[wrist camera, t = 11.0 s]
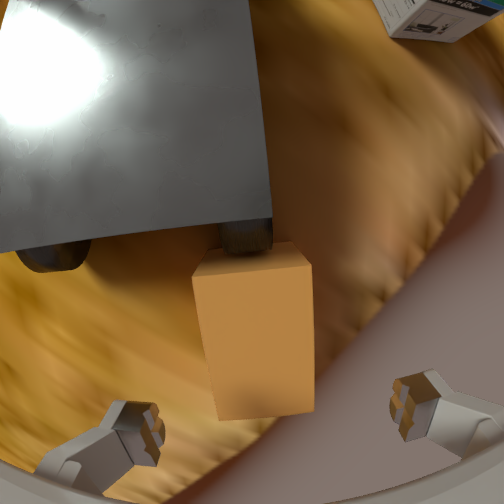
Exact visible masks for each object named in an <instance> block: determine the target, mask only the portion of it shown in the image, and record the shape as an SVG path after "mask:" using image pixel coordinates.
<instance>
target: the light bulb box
mask: <svg viewBox="0 0 504 504" xmlns="http://www.w3.org/2000/svg"><path fill="white" fill-rule="evenodd" d="M373 2H374V4H375V6H376V8H377V10H378V12H379V14H380V16H381V19H382V21H383V23H384V25H385V27H386V30H387V32H388V34H389V36H390V37H392V38H409V39H422V40H432V41H440V42H448V43H454V42H455V41H457V40H458V39H460V38H462V37H463V36H465V35H466V34H468V33H470V32H471V31H473V30H474V29H476V28H478V27H480V26H481V25H483V24H485V23H486V22H488V21H490V20H491V19H493V18H495V17H496V16H498V15H500V14H502V13H503V12H504V0H373Z"/></svg>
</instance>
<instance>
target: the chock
mask: <svg viewBox="0 0 504 504" xmlns="http://www.w3.org/2000/svg"><path fill="white" fill-rule="evenodd" d="M192 283H193V289H194V296H195V302H196V308H197V314H198V319H199V325H200V331H201V336H202V342H203V347H204V352H205V357H206V362H207V367H208V372H209V377H210V382H211V387H212V392H213V396H214V401H215V405H216V410H217V414H218V418H219V421H226V420H243V419H256V418H267V417H277V416H285V415H293V414H301V413H308V412H314V314H313V286H312V266H311V264H310V263H309V262H308V260H307V259H306V258H305V257H304V256H303V254H302V253H301V252H300V251H299V250H298V249H297V247H296V246H295V245H294V244H293V243H292V242H291V241H289V242H279V243H273V246H272V250H265V251H255V252H245V253H235V254H225V253H224V251H223V248H219V249H209V250H208V251H207V253H206V254H205V256H204V257H203V259H202V261H201V262H200V264H199V266H198V267H197V269H196V271H195V272H194V274H193V276H192Z"/></svg>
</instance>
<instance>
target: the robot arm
mask: <svg viewBox="0 0 504 504" xmlns="http://www.w3.org/2000/svg"><path fill="white" fill-rule="evenodd" d="M393 390H394V392H395V393H394V395H393V396H392V397H391V399H390V414H391V417H392V419H393V421H394V422H395V423H397V424H399V425H400V426H399V432H400V434H401V436H402V437H403V439H404V441H405V442H408V441H411V440H414V439H418V438H421V437H425V436H426V437H427V438H429V439H430V440H432V441H434V442H435V443H437V444H439V445H440V446H442V447H444V448H446V449H447V450H449V451H451V452H453V453H454V454H456V455H458V456H460V457H461V458H462V459H461V461H460V462H458V463H456V464H454V465H451V466H449V467H447V468H444V469H442V470H440V471H437V472H435V473H432V474H430V475H427V476H424V477H422V478H419V479H416V480H413V481H411V482H408V483H405V484H402V485H399V486H395V487H392V488H389V489H385V490H382V491H379V492H375V493H371V494H368V495H363V496H359V497H355V498H350V499H346V500H341V501H336V502H331V503H325V504H504V406H502V405H499V404H496V403H493V402H489V401H486V400H483V399H480V398H477V397H474V396H471V395H468V394H464V393H462V392H459V391H457V392H454V391H453V390H452V389H451V388H450V386H449V385H448V384H447V383H446V382H445V381H444V380H443V378H442V377H441V376H440V375H439V374H438V373H437V372H436V371H435V370H434V369H430V370H426V371H423V372H420V373H417V374H414V375H410V376H406V377H402V378H399V379H395V381H394V383H393ZM158 413H159V409H158V407H157V404H155V403H151V402H138V401H125V400H115V401H113V403H112V404H111V406H110V408H109V410H108V411H107V413H106V415H105V416H104V418H103V420H102V422H101V423H100V425H99V427H94V428H92V429H90V430H88V431H87V432H85V433H83V434H81V435H79V436H77V437H76V438H74V439H72V440H70V441H68V442H66V443H64V444H62V445H61V446H59V447H57V448H55V449H53V450H51V451H49V452H47V453H46V455H45V456H44V458H43V459H42V461H41V462H40V464H39V465H38V467H37V469H36V470H35V472H34V473H33V474H32V473H30V472H28V471H25V470H23V469H21V468H18V467H16V466H14V465H12V464H10V463H7V462H5V461H3V460H1V459H0V504H138V503H132V502H127V501H122V500H117V499H113V498H108V497H105V496H104V495H103V494H102V493H103V492H104V491H105V490H107V489H108V488H109V487H110V486H111V485H113V484H114V483H115V482H116V481H117V480H118V479H120V478H121V477H122V476H123V475H124V474H125V473H127V472H128V471H129V470H130V469H131V468H132V467H133V466H134V465H141V466H152V467H157V464H158V460H159V457H160V454H161V453H160V451H159V449H158V448H159V447H161V446H162V445H163V444H164V441H165V426H164V423H163V420H162V419H160V418H159V417H158Z"/></svg>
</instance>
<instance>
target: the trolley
mask: <svg viewBox="0 0 504 504" xmlns="http://www.w3.org/2000/svg"><path fill="white" fill-rule="evenodd" d="M272 217H273V212H272V202H271V191H270V181H269V171H268V161H267V151H266V141H265V132H264V123H263V114H262V105H261V96H260V88H259V79H258V71H257V63H256V55H255V47H254V39H253V31H252V24H251V16H250V9H249V2H248V0H9V3H8V7H7V10H6V13H5V16H4V20H3V23H2V27H1V31H0V253H5V252H10V251H15V252H16V253H17V255H18V257H19V258H20V260H21V261H22V262H23V263H24V265H25V266H27V267H28V268H29V269H31V270H32V271H34V272H37V273H46V272H56V271H66V270H74V269H76V268H78V267H79V266H80V265H81V264H82V263H83V261H84V260H85V258H86V256H87V254H88V251H89V248H90V243H91V239H93V238H100V237H107V236H114V235H122V234H129V233H137V232H144V231H152V230H160V229H168V228H177V227H185V226H194V225H203V224H211V223H217V224H218V230H219V235H220V240H221V244H222V248H223V251H224V253H225V254H235V253H245V252H255V251H265V250H272V246H273V227H272Z"/></svg>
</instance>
